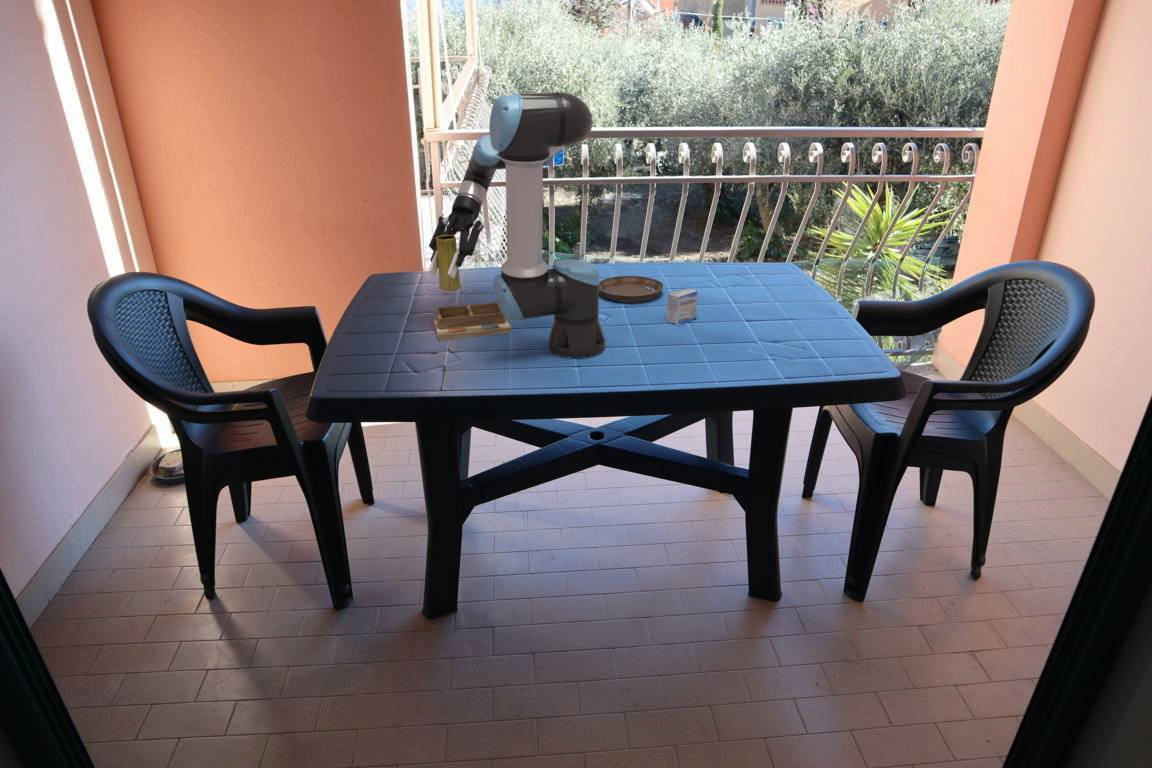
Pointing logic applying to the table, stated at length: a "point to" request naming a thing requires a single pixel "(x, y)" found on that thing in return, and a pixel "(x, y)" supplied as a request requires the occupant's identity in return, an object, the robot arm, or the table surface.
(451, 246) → the vase
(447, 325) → the tray
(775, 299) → the table surface
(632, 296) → the plant saucer
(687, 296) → the medicine box
